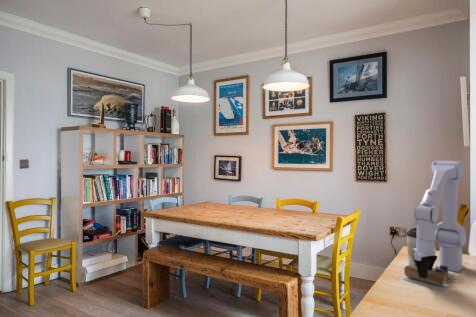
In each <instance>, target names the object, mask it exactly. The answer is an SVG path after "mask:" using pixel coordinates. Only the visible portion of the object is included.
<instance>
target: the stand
mask: <svg viewBox="0 0 476 317" xmlns="http://www.w3.org/2000/svg"><path fill="white" fill-rule="evenodd" d="M415 266H416V264H415ZM434 271H437V272H440V273H444V274H445V276H447V282H449V281H450V280H451V276H449V270H448V266H443V265H440V268H439V267H435V268H434Z"/></svg>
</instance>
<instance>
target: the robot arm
mask: <svg viewBox="0 0 476 317" xmlns="http://www.w3.org/2000/svg"><path fill="white" fill-rule="evenodd" d="M431 163H432V164H431V168H430V170H431V174H432V181H431V184H430V186H429V187H430V188H429V189H426V190H425V192H424V194H423V197H422V199H421V201H420V203H419V205H417V206H415V208H414V211H413V217H414V220H415V221H414V224H415V226H416V228H417V243H416V248H414V249H413V251H416V253H415V254H414V257H413V260H414V262H415V264H416V266H417V270H418V274H419V277H421V278H425V279H426V277H427V272H428V269H429V270H433V268H434V264H435V263H436V261H437V259H438V257H439V259H438V260H439V261H438V264H436V265H435V268H438V269H440V265H443V266H448V271H452V272H456V273H459V272H460V271H461V270H463V269H464V268H465V267H466V266H465V265H464V264H463V250H462V248H463V247H465V245H466V243H467V234H466V228H465V226H463V225H461V224H460V223H459V222H458V200H459V199H458V198H459V196H458V195H459V194H458V193H459V184H460V182H463V181H464V174H465V170H464V167H465V166H464V164H463V161H461V160H458V161H457V160H433V161H432V162H431ZM442 192H443V194H442ZM442 199H443V206H442V207H443V208H442V210H443V212H442V221H441V222H439V223H437V224H436V222H438V219H439V213H440V209H439V207H440V205H441V202H442ZM435 242H436V243H437V245H438V246H439V253H438V254H439V256H438V255H436V252H437V248H436V246H435Z"/></svg>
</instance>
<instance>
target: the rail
mask: <svg viewBox="0 0 476 317" xmlns="http://www.w3.org/2000/svg"><path fill="white" fill-rule="evenodd" d="M404 275H405V276H406V277H412V278H415V279H419V280H422V281H426V282H430V283H433V284H437V285H440V286H442V285H444V284H448V283H447V282H448V281H447V276H445V274H444V273H440V272H437V271H435V270H433V269H432V270H429V269H428V272H427V277H426V279H425V278H421V277H419V274H418V270H417V266H413V265H409V264H407V265H405V266H404Z"/></svg>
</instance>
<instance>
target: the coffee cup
mask: <svg viewBox="0 0 476 317" xmlns="http://www.w3.org/2000/svg"><path fill="white" fill-rule="evenodd" d="M416 243H417V227H413V228H410V229H409V230H408V231H407V232H406V249H407V257H408V258H407V259H408V265H413V266H415V262H414V260H413V257H414V254H415V253H416V251H413V249H414V248H416Z"/></svg>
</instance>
